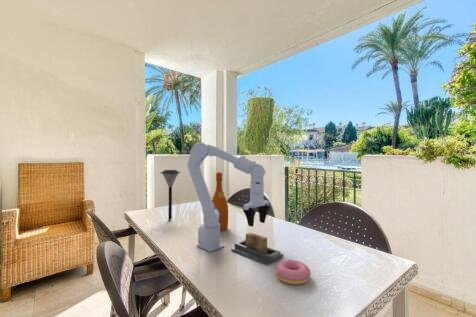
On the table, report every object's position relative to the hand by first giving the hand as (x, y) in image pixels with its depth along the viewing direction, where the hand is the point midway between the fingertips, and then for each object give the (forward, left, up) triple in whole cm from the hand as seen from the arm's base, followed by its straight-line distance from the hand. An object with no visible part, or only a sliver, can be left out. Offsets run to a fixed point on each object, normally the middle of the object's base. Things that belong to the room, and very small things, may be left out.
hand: (256, 224), depth 99 cm
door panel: (+5, -6, -8) cm, 11 cm away
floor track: (+5, -6, -9) cm, 12 cm away
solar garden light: (-63, -5, -10) cm, 64 cm away
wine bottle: (-29, +4, -10) cm, 31 cm away
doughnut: (+24, -12, -10) cm, 29 cm away
